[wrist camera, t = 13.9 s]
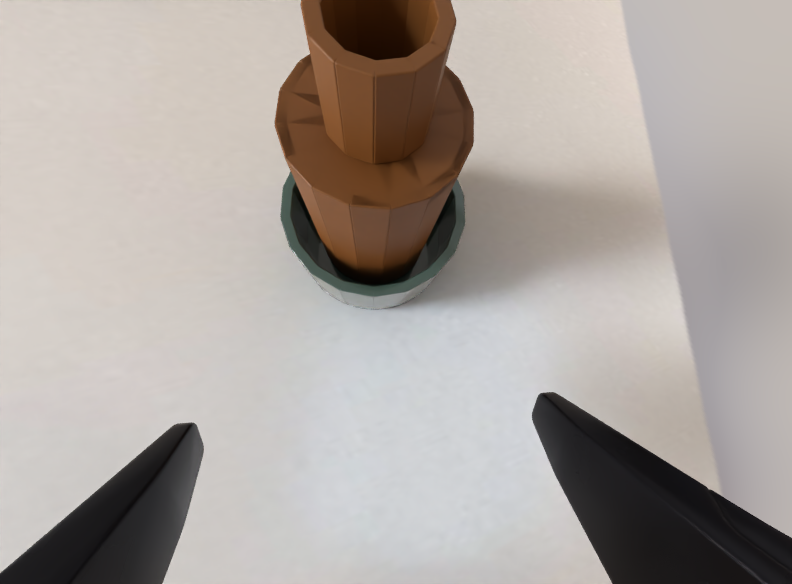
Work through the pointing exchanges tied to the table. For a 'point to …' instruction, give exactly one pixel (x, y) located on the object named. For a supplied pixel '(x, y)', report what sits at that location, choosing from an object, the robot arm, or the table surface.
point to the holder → (360, 294)
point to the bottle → (375, 129)
